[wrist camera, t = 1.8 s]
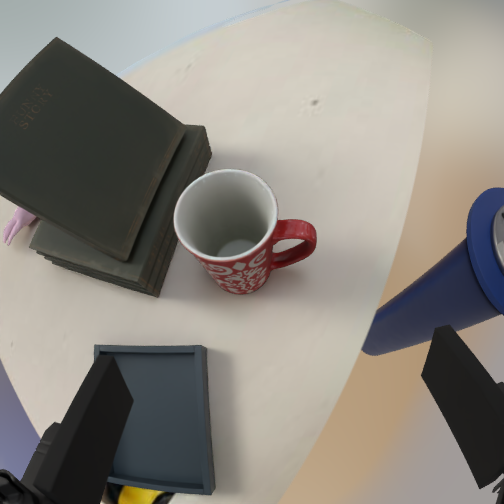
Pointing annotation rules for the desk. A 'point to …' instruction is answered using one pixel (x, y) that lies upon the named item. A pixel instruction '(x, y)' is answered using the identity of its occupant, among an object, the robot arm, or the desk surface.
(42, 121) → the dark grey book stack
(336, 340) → the desk surface
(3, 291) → the desk surface
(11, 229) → the pink toy figure
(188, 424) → the tray
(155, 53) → the desk surface
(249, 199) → the mug
